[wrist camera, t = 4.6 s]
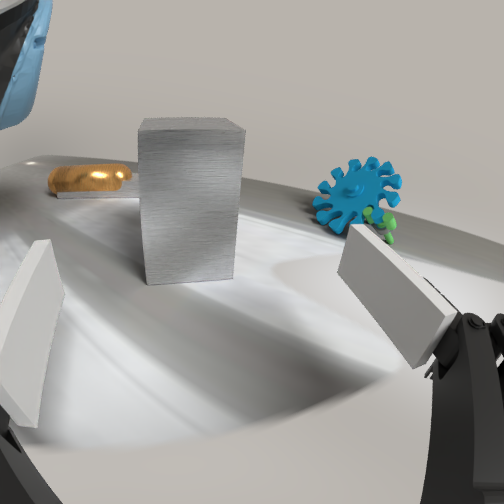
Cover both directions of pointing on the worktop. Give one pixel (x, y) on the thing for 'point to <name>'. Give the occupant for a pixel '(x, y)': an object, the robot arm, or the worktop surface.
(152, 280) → the brushed metal block
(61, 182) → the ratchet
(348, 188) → the gear
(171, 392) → the worktop surface
